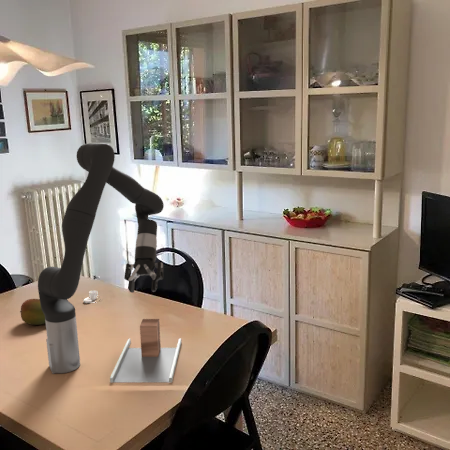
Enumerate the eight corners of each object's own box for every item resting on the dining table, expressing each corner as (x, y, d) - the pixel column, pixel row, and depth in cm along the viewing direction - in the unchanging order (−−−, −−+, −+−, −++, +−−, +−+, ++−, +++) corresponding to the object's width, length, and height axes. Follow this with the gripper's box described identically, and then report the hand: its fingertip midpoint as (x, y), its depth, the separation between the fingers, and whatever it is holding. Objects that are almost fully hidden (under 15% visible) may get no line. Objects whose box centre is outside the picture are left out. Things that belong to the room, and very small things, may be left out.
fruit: (21, 320, 198) (18, 296, 196) (54, 314, 203) (51, 291, 201) (22, 332, 188) (19, 307, 186) (57, 325, 193) (54, 301, 190)
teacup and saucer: (85, 305, 213) (84, 296, 212) (79, 300, 219) (78, 291, 218) (105, 301, 217) (104, 292, 217) (99, 295, 224) (98, 287, 223)
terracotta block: (158, 356, 165) (156, 325, 163) (141, 356, 166) (139, 325, 163) (160, 348, 171) (159, 318, 168) (144, 348, 171) (142, 318, 168)
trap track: (172, 385, 150) (171, 377, 150) (110, 385, 151) (109, 377, 150) (181, 344, 175) (181, 338, 175) (128, 345, 176) (128, 338, 175)
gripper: (123, 246, 181) (119, 290, 176) (159, 243, 177) (156, 289, 172) (133, 251, 188) (129, 294, 183) (168, 249, 184) (165, 293, 179)
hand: (142, 291), depth 178 cm, fingers open, 8 cm apart
